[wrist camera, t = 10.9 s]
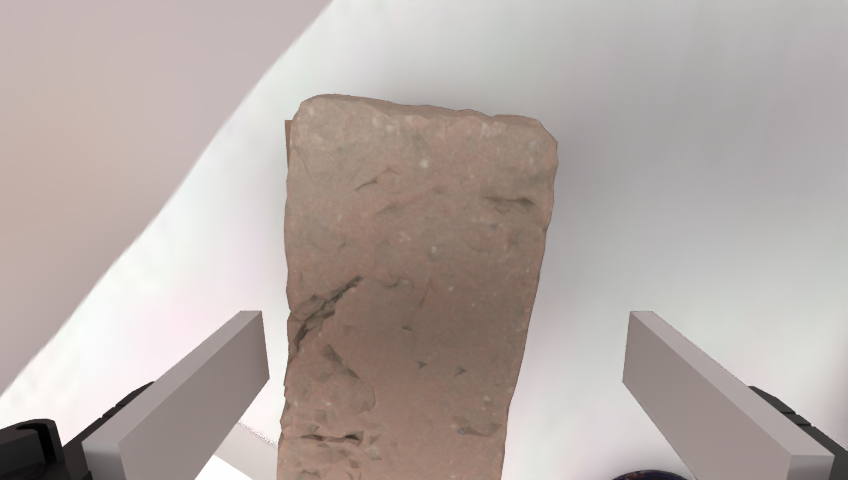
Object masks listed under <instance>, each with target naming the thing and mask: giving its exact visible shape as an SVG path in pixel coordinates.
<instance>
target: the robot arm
mask: <svg viewBox="0 0 848 480" xmlns="http://www.w3.org/2000/svg"><path fill="white" fill-rule="evenodd" d="M269 378H270V377H269V369H268V361H267V352H266V344H265V335H264V327H263V319H262V311H240V312H239V313H238V314H236V315H235V316H234V317H233V318H232V319H230V320H229V321H228V322H227V323H226V324H224V325H223V326H222V327H221V328H219V329H218V330H217V331H216V332H215V333H213V334H212V335H211V336H210V337H209V338H207V339H206V340H205V341H204V342H202V343H201V344H200V345H199V346H198V347H196V348H195V349H194V350H193V351H192V352H190V353H189V354H188V355H187V356H186V357H184V358H183V359H182V360H181V361H179V362H178V363H177V364H176V365H175V366H173V367H172V368H171V369H170V370H169V371H167V372H166V373H165V374H164V375H163V376H161V377H160V378H159V379H158V380H156V381H155V382H154V381H152V382H150V383H148V384H146V385H144V386H142V387H140V388H138V389H136V390H135V391H133V392H131V393H130V394H128V395H127V396H126V397H125V398H123V399H122V400H121V401H120V402H118V403H117V404H116V406H115V407H112V408H111V409H110V410H108V411H107V412H106V413H105V414H103V416H102V418H98V419H97V420H96V421H95V422H93V423H92V424H91V425H90V426H88V427H87V428H86V429H84V430H83V431H82V432H81V433H79V434H78V435H77V436H76V437H74V438H73V439H72V440H71V441H69V442H68V443H67V444H66V445H64V446H63V447H62V445H61V441H60V437H59V434H58V430H57V426H56V424H55V421H53V420H50V419H33V420H29V421H25V422H20V423H17V424H14V425H11V426H9V427H6V428H3V429H1V430H0V480H195V479H196V477H197V476H198V475H199V473H200V472H201V471H202V469H203V468H204V466H205V465H206V464H207V462H208V461H209V460H210V458H211V457H212V456H213V454H214V453H215V452H216V450H217V449H218V448H219V446H220V445H221V443H222V442H223V441H224V439H225V438H226V437H227V435H228V434H229V433H230V431H231V430H232V429H233V427H234V426H235V425H236V423H237V422H238V420H239V419H240V418H241V416H242V415H243V414H244V412H245V411H246V410H247V408H248V407H249V406H250V404H251V403H252V401H253V400H254V399H255V397H256V396H257V395H258V393H259V392H260V391H261V389H262V388H263V387H264V385H265V384H266V383H267V381H268V380H269ZM622 382H623V383H624V385H625V386H626V387H627V388H628V390H629V391H630V392H631V394H632V395H633V396H634V398H635V399H636V400H637V402H638V403H639V404H640V406H641V407H642V408H643V409H644V411H645V412H646V413H647V415H648V416H649V417H650V419H651V420H652V421H653V423H654V424H655V425H656V427H657V428H658V429H659V431H660V432H661V433H662V434H663V436H664V437H665V438H666V440H667V441H668V442H669V444H670V445H671V446H672V448H673V449H674V450H675V452H676V453H677V454H678V456H679V457H680V458H681V459H682V461H683V462H684V463H685V465H686V466H687V467H688V469H689V470H690V471H691V473H692V474H693V475H694V477H695V478H696V479H697V480H848V451H846V450H845V449H844V448H842V447H841V446H840V445H838V444H837V443H836V442H834V441H833V440H832V439H830V438H829V437H828V436H826V435H825V434H824V433H822V432H821V431H820V430H819V429H817V428H816V427H812V426H811V423H809V422H808V421H807V420H805V419H804V418H803V417H801V416H800V415H796V413H795V411H793V410H792V409H791V408H789V407H788V406H787V405H785V404H784V403H783V402H782V401H780V400H779V399H778V398H776V397H774V396H772V395H770V394H768V393H766V392H764V391H762V390H760V389H758V388H756V387H754V386H746V385H745V384H744V383H742V382H741V381H740V380H739V379H737V378H736V377H735V376H734V375H732V374H731V373H730V372H729V371H727V370H726V369H725V368H723V367H722V366H721V365H720V364H718V363H717V362H716V361H715V360H713V359H712V358H711V357H710V356H708V355H707V354H706V353H705V352H703V351H702V350H701V349H699V348H698V347H697V346H696V345H694V344H693V343H692V342H691V341H689V340H688V339H687V338H686V337H684V336H683V335H682V334H681V333H679V332H678V331H677V330H675V329H674V328H673V327H672V326H670V325H669V324H668V323H667V322H665V321H664V320H663V319H662V318H660V317H659V316H658V315H657V314H655V313H654V312H653V311H630V316H629V325H628V335H627V344H626V353H625V362H624V371H623V380H622Z"/></svg>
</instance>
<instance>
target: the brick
mask: <svg viewBox="0 0 848 480" xmlns="http://www.w3.org/2000/svg"><path fill="white" fill-rule="evenodd" d="M557 166H558V158H557V142H556V140H555V139H554V138H553V137H552V136H551V135H550V134H549V133H548V132H547V131H546V129H545V128H544V127H543V126H542V124H541V123H540V122H539V121H537V120H535V119H531V118H528V117H524V116H517V115H496V116H494V117H489V116H486V115H484V114H482V113H480V112H477V111H473V110H469V109H467V110H460V111H454V110H450V109H446V108H441V107H435V106H429V105H421V106H410V105H399V104H396V103H392V102H389V101H384V100H378V99H372V98H366V97H357V96H350V95H340V94H324V95H317V96H314V97H312V98H309V99H307V100H305V101H303V102H301V104H300V107H299V110H298V112H297V113H296V114H295V115H294V117H293V120H292V124H291V131H290V160H289V169H288V176H287V181H286V183H287V200H286V206H285V220H284V242H285V254H286V260H287V266H288V279H287V287H286V294H287V299H288V304H289V309H290V310H291V313H290V315H289V318H288V320H287V336H288V343H289V346H288V351H289V355H288V363H287V368H286V374H285V379H284V384H283V385H284V386H285V391H284V397H285V398H286V401H285V406H284V409H283V413H282V416H281V419H280V424H281V429H282V432H281V435H280V438H279V442H278V458H277V474H276V480H501V475H502V468H503V462H504V455H505V440H506V434H507V421H508V413H509V406H510V403H511V399H512V397H513V394H514V391H515V387H516V384H517V380H518V376H519V372H520V367H521V363H522V359H523V354H524V350H525V344H526V338H527V332H528V327H529V322H530V317H531V313H532V308H533V304H534V301H535V297H536V292H537V288H538V283H539V276H540V269H541V264H542V260H543V255H544V251H545V239H546V231H547V228H548V226H549V223H550V220H551V214H552V209H553V203H554V197H553V183H554V178H555V174H556V170H557Z"/></svg>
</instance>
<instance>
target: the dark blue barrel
mask: <svg viewBox="0 0 848 480" xmlns="http://www.w3.org/2000/svg"><path fill="white" fill-rule="evenodd" d="M614 480H686V479H684V478H682V477H681V476H678V475H675V474H672V473H669V472H664V471H654V470H647V471H638V472H633V473H629V474H626V475H622V476H620V477H618V478H616V479H614Z"/></svg>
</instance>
